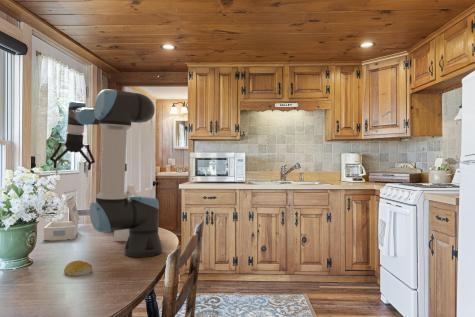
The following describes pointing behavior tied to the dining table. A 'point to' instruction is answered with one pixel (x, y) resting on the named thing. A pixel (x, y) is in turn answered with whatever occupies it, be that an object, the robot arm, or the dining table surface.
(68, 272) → the bread roll
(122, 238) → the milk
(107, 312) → the dining table surface
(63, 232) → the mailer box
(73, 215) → the lid
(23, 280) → the dining table surface
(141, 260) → the dining table surface
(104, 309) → the dining table surface
